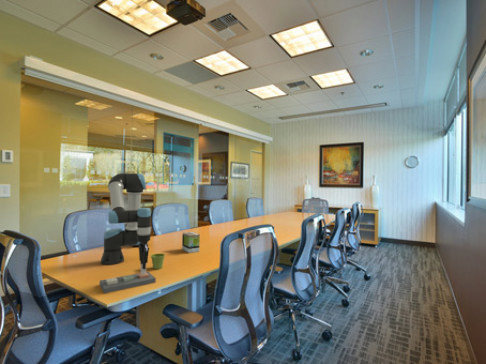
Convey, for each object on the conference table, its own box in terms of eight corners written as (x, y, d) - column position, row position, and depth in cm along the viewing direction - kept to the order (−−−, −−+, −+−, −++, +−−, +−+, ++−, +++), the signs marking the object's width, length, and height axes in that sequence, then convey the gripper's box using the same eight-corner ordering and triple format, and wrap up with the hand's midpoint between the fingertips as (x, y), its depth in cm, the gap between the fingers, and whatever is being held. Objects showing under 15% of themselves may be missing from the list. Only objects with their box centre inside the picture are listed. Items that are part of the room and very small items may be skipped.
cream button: (106, 283, 149) (106, 279, 149) (115, 281, 152) (115, 277, 152) (107, 286, 145) (107, 282, 145) (117, 284, 148) (117, 280, 148)
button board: (99, 285, 152) (99, 280, 152) (147, 275, 168) (148, 271, 168) (104, 293, 140) (104, 288, 140) (155, 282, 157) (155, 278, 157)
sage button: (122, 280, 155) (122, 276, 155) (131, 278, 158) (131, 274, 158) (124, 282, 151) (124, 278, 151) (133, 281, 154) (133, 277, 154)
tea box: (199, 251, 227) (200, 234, 227) (188, 253, 221) (188, 235, 221) (192, 247, 239) (192, 231, 239) (181, 249, 233) (182, 232, 233)
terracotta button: (137, 277, 160) (137, 273, 160) (146, 275, 163) (146, 272, 163) (140, 280, 156) (140, 276, 156) (148, 278, 159) (148, 274, 159)
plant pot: (155, 271, 176) (155, 258, 176) (147, 268, 182) (147, 255, 182) (167, 268, 183) (167, 255, 183) (160, 265, 189) (160, 252, 189)
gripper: (134, 233, 162) (133, 272, 162) (140, 236, 152) (140, 278, 152) (146, 231, 167) (146, 269, 166) (153, 235, 156) (153, 275, 156)
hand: (143, 273), depth 159 cm, fingers closed
